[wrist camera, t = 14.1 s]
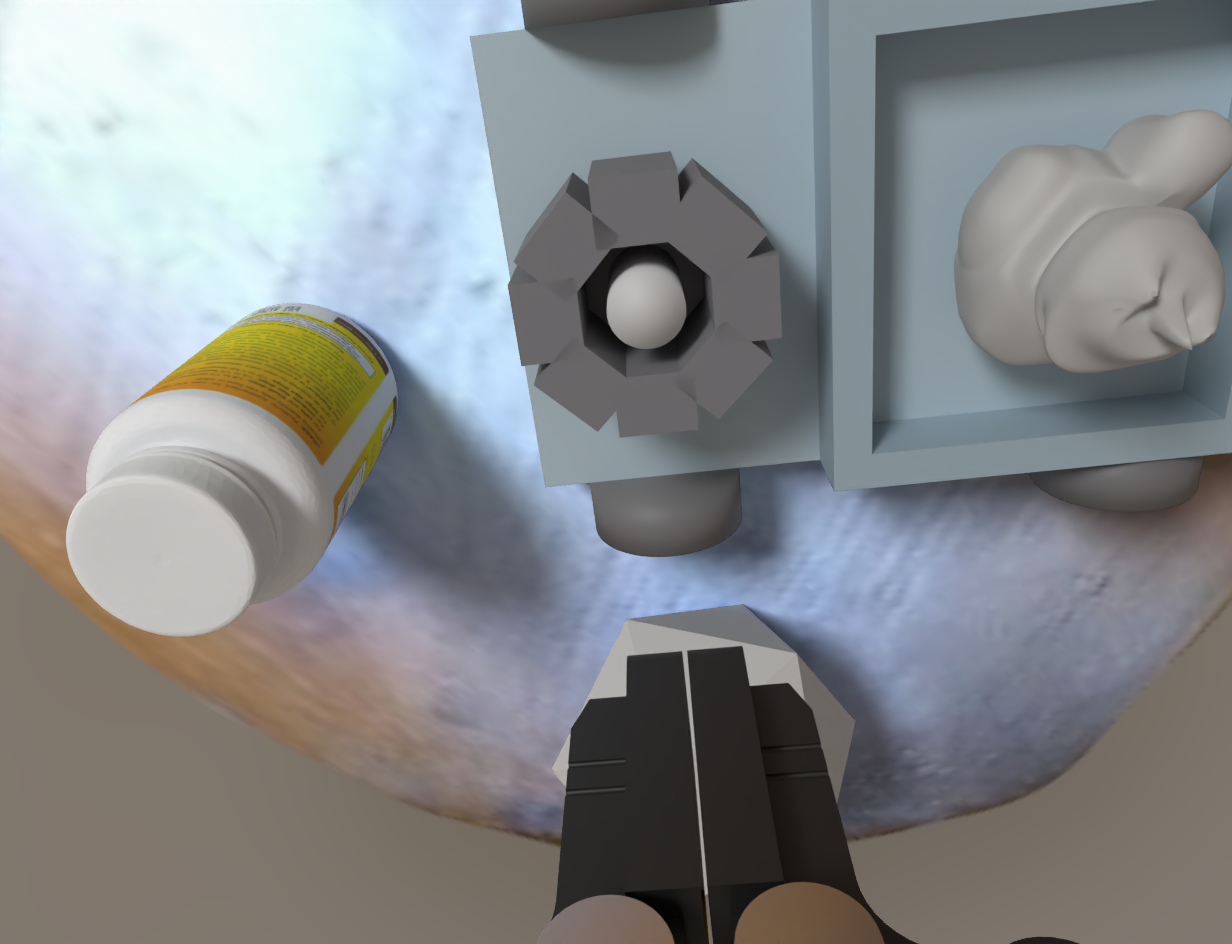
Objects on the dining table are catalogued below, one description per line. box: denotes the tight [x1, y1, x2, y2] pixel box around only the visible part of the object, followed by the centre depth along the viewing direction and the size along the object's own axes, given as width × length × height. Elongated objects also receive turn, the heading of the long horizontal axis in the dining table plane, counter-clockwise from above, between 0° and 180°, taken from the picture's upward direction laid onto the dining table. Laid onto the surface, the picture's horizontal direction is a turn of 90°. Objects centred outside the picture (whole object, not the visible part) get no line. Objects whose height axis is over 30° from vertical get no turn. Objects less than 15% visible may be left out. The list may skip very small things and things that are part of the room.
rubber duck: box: [954, 110, 1232, 373], centre depth 20 cm, size 5×7×8 cm
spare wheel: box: [508, 151, 782, 438], centre depth 22 cm, size 6×6×3 cm
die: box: [552, 604, 855, 895], centre depth 29 cm, size 8×9×10 cm
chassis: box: [470, 0, 1232, 557], centre depth 23 cm, size 15×20×6 cm
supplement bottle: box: [66, 303, 398, 636], centre depth 23 cm, size 6×6×10 cm
